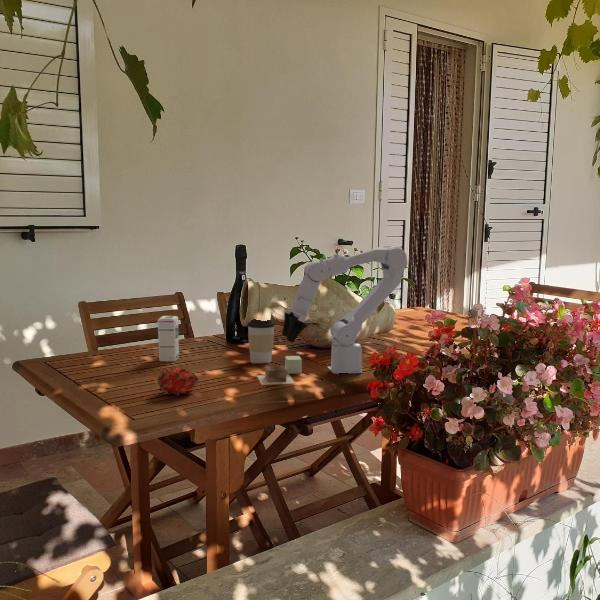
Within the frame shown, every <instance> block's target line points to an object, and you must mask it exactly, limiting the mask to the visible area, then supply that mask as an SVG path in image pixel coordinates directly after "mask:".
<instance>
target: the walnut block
mask: <svg viewBox="0 0 600 600" xmlns="http://www.w3.org/2000/svg"><path fill="white" fill-rule="evenodd" d="M264 369H265V370H264V371H265V374H264V375H265V378H266V380H267V381H268V382H286V374H287V370H286V369H285V365H265V366H264Z"/></svg>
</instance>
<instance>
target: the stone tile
mask: <svg viewBox="0 0 600 600" xmlns="http://www.w3.org/2000/svg"><path fill="white" fill-rule="evenodd" d="M256 378H257V379H258V381H259V383H260V384H261V386H266V385H269V386H270V385H271V386H272V385H289V384H290V385H291V384H294V385H295V384H296V382H295V381H294V379H293V378H292V376H291V375H290V374H287V373H286V382H268V381H267V380H266V378H265V374H263V375H256Z"/></svg>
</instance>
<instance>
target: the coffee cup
mask: <svg viewBox="0 0 600 600" xmlns="http://www.w3.org/2000/svg"><path fill="white" fill-rule="evenodd" d="M250 320H251V319H250ZM250 320H249V321H250ZM249 321H248V322H247V328H248V330H247V331H248V332H247V336H248V350H249V359H250V363H251V364H268V363H269V364H270V362H271V363H272V354H273V349H274V348H273V347H274V339H275V338H274V336H275V332H274V331H275V330H274V329H275V327H276V325H275V322H274V321H273V320H272V319H271V320H267V321H261V320H256V319H253V320H251V321H250V322H249ZM272 321H273V322H272Z"/></svg>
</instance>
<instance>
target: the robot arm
mask: <svg viewBox="0 0 600 600" xmlns="http://www.w3.org/2000/svg"><path fill="white" fill-rule="evenodd" d="M373 262H375V263H380V266H381V269H382V278H381V279H380V280H379V282H378V283H376V284H375V286H374V287H373V288H371V290H370V291H369V292H368V293H367V294H366V295H365V296H364V297H363V298H362V300H360V302H358V304H357V305H356V306H355V307H354V308H353V309H352V310H351V311H350V312H349V313H346V315H344V316H342V317H341V318H340V319H339V320H338V319H337V320H336V321H334V322H332V324H331V326H330V328H329V329H330V330H329V331H330V335H331V337H332V340H331V352H330V353H331V356H330V357H331V358H330V359H331V361H330V366H327V369H328V370H330V372H331V373H332V374H336V375H340V374H339V373H348V374H362V373H363V371H362V365H363V363H362V362H363V350H362V349H363V348H362V346H361V344H360V343H356V342H355V341H356V339H357V337H358V334H359V333H360V332H361V330H362V327H363V324H364V323H365V322H366V321H367V320H368V319H369V318H370V316H371V315H372V314H374V312H375V311H376V310H377V309H378V308H379V307H380V306H381V304H383V302H384V301H386V299H387V298H388V297H389V296H390V295H391V293H393V292H394V291H395V290H396V289H397V288H398V286H399V285H400V284H401V282H402V279H403V276H404V272H405V268H406V267H407V266H408V258H407V253H406V251H405V250H404V249H402V248H400V247H393V246H391V245H385V246H383V247H382V246H380V247H379V246H378V247H375V248H371V249H368V250H364V251H361V252H360V253H356V254H353V255H349V256H346V255H343V254H339V253H334V254H333V256H330V257H327V258H325V259H324V258H319V261H315V260H314V261H309V263H308V264H306V266H304V268H303V273H304V276H303V278H302V280H301V282H300V283H299V287H298V289H297V292H296V293H295V296H294V298H293V301H292V303H291V304H290V305H291V306H290V307H289V306H286V308H285V309H286V310H287V311H288V312H287V311H286V312H285V311H284V312H283V314H284V321H283V328H282V333H281V335H282V336H284V337H286V341H288V342H290V343H294V342H295V341H296V339H297V338H298V337H299V335H300V333H301V332H302V331H303V330H305V329H306V328H307V327H308V323H305V322H306V320H307V318H308V316H309V315H308V314H309V312H310V311H311V310H310V309H311V307H312V305H313V302H314V300H315V298H316V295H317V293H318V290H319V288H320V285H321V283H322V282H323V281H324V280H325V279H326V278H330V277H334V276H338V275H341V274H345V273H347V272H348V270H349V269H350V268H351V267H355V266H359V265H363V264H367V263H373Z"/></svg>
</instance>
